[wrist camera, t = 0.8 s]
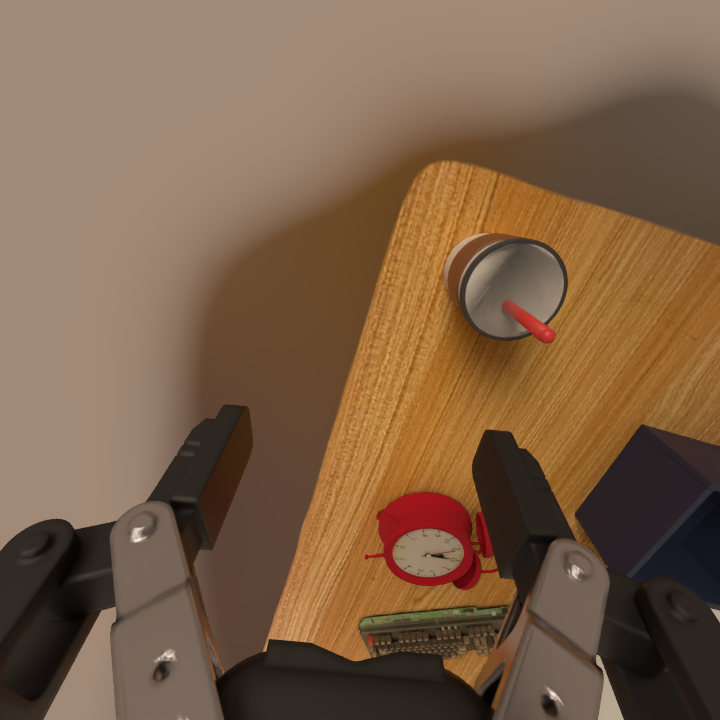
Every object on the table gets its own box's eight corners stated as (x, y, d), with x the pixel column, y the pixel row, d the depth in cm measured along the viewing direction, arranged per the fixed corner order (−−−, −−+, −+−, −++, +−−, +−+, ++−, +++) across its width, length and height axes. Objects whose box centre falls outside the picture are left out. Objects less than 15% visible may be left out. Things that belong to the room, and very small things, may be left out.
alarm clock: (381, 504, 33) (538, 570, 31) (394, 465, 39) (527, 518, 36) (357, 571, 38) (493, 635, 35) (371, 527, 43) (489, 579, 41)
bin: (641, 424, 32) (712, 482, 25) (760, 457, 33) (860, 524, 26) (574, 514, 37) (617, 584, 30) (678, 542, 38) (744, 617, 31)
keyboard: (371, 654, 50) (370, 671, 48) (354, 616, 47) (353, 633, 45) (526, 642, 46) (532, 660, 45) (519, 600, 43) (525, 618, 41)
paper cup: (458, 221, 26) (525, 230, 14) (533, 243, 27) (666, 273, 14) (430, 296, 29) (466, 364, 16) (499, 316, 29) (586, 398, 16)
